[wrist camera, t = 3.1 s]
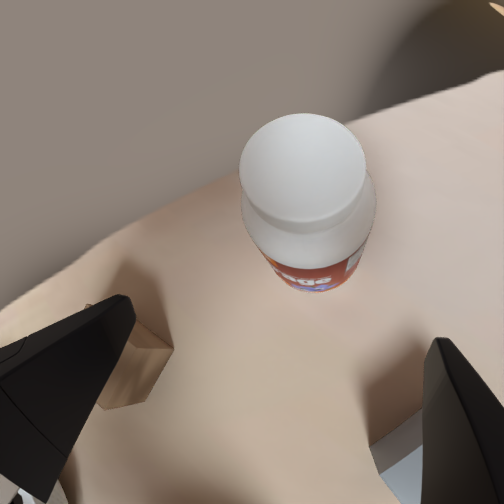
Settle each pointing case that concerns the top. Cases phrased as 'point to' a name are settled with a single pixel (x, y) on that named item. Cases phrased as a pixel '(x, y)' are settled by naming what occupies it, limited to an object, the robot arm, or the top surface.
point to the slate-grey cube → (402, 459)
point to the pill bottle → (307, 199)
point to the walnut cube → (135, 369)
